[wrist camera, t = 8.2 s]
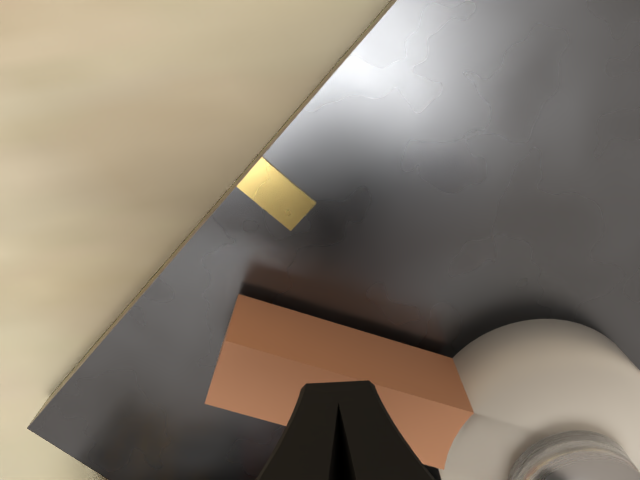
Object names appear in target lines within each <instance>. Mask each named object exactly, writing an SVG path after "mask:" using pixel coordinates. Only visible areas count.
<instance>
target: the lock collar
mask: <svg viewBox="0 0 640 480" xmlns="http://www.w3.org/2000/svg"><path fill="white" fill-rule="evenodd" d="M364 380H369V381H370V382H371V383H373V384H374V385H375V388H376V390H377V393H378V395H379V397H380V399H381V401H382V403H383V405H384V407H385V408H386V410H387V412H388V414H389V415H390V417H391V419H392V420H393V422H394V424H395V425H396V427H397V428H398V430H399V431H400V433H401V434H402V436H403V437H404V439H405V440H406V442H407V443H408V444H409V446H410V447H411V449H412V450H413V452H414V453H415V454H416V456H417V457H418V458H419V460H420V461H421V462H422V464H425V465H428V466H432V467H436V468H438V469H439V473H440V477H441V480H508V477H509V474H510V471H511V469H512V467H513V465H514V463H515V462H516V460H517V459H518V458H519V456H520V455H521V454H522V453H523V452H524V451H525V450H526V449H528V448H529V447H530V446H532V445H533V444H534V443H536V442H538V441H539V440H541V439H543V438H546V437H548V436H550V435H553V434H557V433H561V432H565V431H574V430H584V431H592V432H596V433H600V434H603V435H605V436H607V437H609V438H611V439H613V440H614V441H616V442H617V443H618V444H619V445H620V446H621V447H622V448H623V449H624V451H625V452H626V453H627V455H628V456H629V458H630V459H631V460H632V462H633V463H634V465H635V466H636V467H637V469H638V470H639V472H640V370H639V369H638V368H637V367H636V366H635V365H634V364H633V363H632V362H631V361H630V359H629V358H628V357H627V356H626V355H625V354H624V353H623V352H622V351H621V350H620V349H619V348H618V346H617V345H616V344H615V343H614V342H612V341H611V340H610V339H609V338H607V337H606V336H605V335H603V334H601V333H600V332H598V331H596V330H594V329H592V328H590V327H587V326H585V325H582V324H579V323H575V322H571V321H566V320H558V319H533V320H525V321H520V322H515V323H511V324H508V325H505V326H502V327H499V328H496V329H494V330H492V331H490V332H488V333H486V334H483V335H482V336H480V337H478V338H477V339H475V340H474V341H472V342H470V343H469V344H468V345H466V346H465V347H464V348H463V349H462V350H460V351H459V352H458V353H457V354H456V355H455V356H454V357H453V358H450V357H447V356H443V355H440V354H437V353H433V352H430V351H427V350H423V349H420V348H417V347H413V346H410V345H407V344H403V343H400V342H397V341H393V340H390V339H387V338H384V337H380V336H377V335H374V334H370V333H367V332H364V331H360V330H357V329H354V328H350V327H347V326H344V325H340V324H337V323H334V322H330V321H327V320H324V319H320V318H317V317H314V316H310V315H307V314H304V313H300V312H297V311H294V310H290V309H287V308H284V307H280V306H277V305H274V304H270V303H267V302H264V301H261V300H257V299H254V298H251V297H247V296H244V295H241V294H238V297H237V300H236V303H235V306H234V310H233V313H232V316H231V319H230V322H229V325H228V328H227V331H226V334H225V337H224V341H223V344H222V347H221V350H220V353H219V357H218V360H217V363H216V367H215V370H214V374H213V377H212V380H211V384H210V387H209V390H208V394H207V397H206V401H205V404H208V405H211V406H215V407H218V408H222V409H226V410H229V411H233V412H237V413H240V414H244V415H247V416H251V417H255V418H258V419H262V420H266V421H269V422H273V423H276V424H280V425H284V426H287V423H288V421H289V419H290V417H291V415H292V412H293V410H294V408H295V405H296V403H297V400H298V397H299V394H300V390H301V388H302V387H303V386H304V385H305V384H306V383H325V382H345V381H364Z"/></svg>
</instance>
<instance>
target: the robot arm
mask: <svg viewBox="0 0 640 480" xmlns="http://www.w3.org/2000/svg"><path fill="white" fill-rule="evenodd" d="M256 480H435V479H434V478H433V476H432V475H431V474H430V473H429V471H428V470H427V469H426V468H425V466H424V465H423V464H422V462H421V461H420V460H419V458H418V457H417V456H416V454H415V453H414V452H413V450H412V449H411V447H410V446H409V444H408V443H407V442H406V440H405V439H404V437H403V436H402V434H401V433H400V431H399V430H398V428H397V427H396V425H395V424H394V422H393V420H392V419H391V417H390V415H389V414H388V412H387V410H386V408H385V407H384V405H383V403H382V401H381V399H380V397H379V395H378V393H377V390H376V388H375V385H374V384H373V383H371V382H370V381H369V380H364V381H345V382H325V383H306V384H305V385H304V386H303V387H302V388H301V390H300V394H299V397H298V400H297V403H296V405H295V408H294V410H293V412H292V415H291V417H290V419H289V421H288V423H287V426H286V428H285V430H284V432H283V433H282V435H281V437H280V439H279V441H278V443H277V445H276V447H275V449H274V450H273V452H272V454H271V456H270V458H269V459H268V461H267V463H266V464H265V466H264V467H263V469H262V471H261V472H260V474H259V475H258V477H257V479H256Z"/></svg>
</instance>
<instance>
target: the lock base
mask: <svg viewBox="0 0 640 480" xmlns="http://www.w3.org/2000/svg"><path fill="white" fill-rule="evenodd" d="M238 294H241V295H244V296H247V297H251V298H254V299H257V300H261V301H264V302H267V303H270V304H274V305H277V306H280V307H284V308H287V309H290V310H294V311H297V312H300V313H304V314H307V315H310V316H314V317H317V318H320V319H324V320H327V321H330V322H334V323H337V324H340V325H344V326H347V327H350V328H354V329H357V330H360V331H364V332H367V333H370V334H374V335H377V336H380V337H384V338H387V339H390V340H393V341H397V342H400V343H403V344H407V345H410V346H413V347H417V348H420V349H423V350H427V351H430V352H433V353H437V354H440V355H443V356H447V357H450V358H453V357H454V356H455V355H456V354H457V353H458V352H459V351H460V350H462V349H463V348H464V347H465V346H466V345H468V344H469V343H470V342H472V341H474V340H475V339H477V338H478V337H480V336H482V335H483V334H486V333H488V332H490V331H492V330H494V329H496V328H499V327H502V326H505V325H508V324H511V323H515V322H520V321H525V320H533V319H558V320H566V321H571V322H575V323H579V324H582V325H585V326H587V327H590V328H592V329H594V330H596V331H598V332H600V333H601V334H603V335H605V336H606V337H607V338H609V339H610V340H611V341H612V342H614V343H615V344H616V345H617V346H618V348H619V349H620V350H621V351H622V352H623V353H624V354H625V355H626V356H627V357H628V358H629V359H630V361H631V362H632V363H633V364H634V365H635V366H636V367H637V368H638V369H639V370H640V0H391V1H390V2H389V3H388V5H387V6H386V7H385V8H384V9H383V10H382V12H381V13H380V14H379V15H378V16H377V17H376V19H375V20H374V21H373V22H372V23H371V24H370V26H369V27H368V28H367V29H366V30H365V31H364V32H363V34H362V35H361V36H360V37H359V38H358V39H357V41H356V42H355V43H354V44H353V45H352V46H351V48H350V49H349V50H348V51H347V52H346V53H345V55H344V56H343V57H342V58H341V59H340V60H339V61H338V63H337V64H336V65H335V66H334V67H333V68H332V70H331V71H330V72H329V73H328V74H327V75H326V77H325V78H324V79H323V80H322V81H321V82H320V84H319V85H318V86H317V87H316V88H315V89H314V90H313V92H312V93H311V94H310V95H309V96H308V97H307V99H306V100H305V101H304V102H303V103H302V104H301V106H300V107H299V108H298V109H297V110H296V111H295V113H294V114H293V115H292V116H291V117H290V118H289V120H288V121H287V122H286V123H285V124H284V125H283V126H282V128H281V129H280V130H279V131H278V132H277V133H276V135H275V136H274V137H273V138H272V139H271V140H270V142H269V143H268V144H267V145H266V146H265V147H264V149H263V150H262V151H261V152H260V153H259V154H258V155H257V157H256V158H255V159H254V160H253V161H252V162H251V164H250V165H249V166H248V167H247V168H246V169H245V171H244V172H243V173H242V174H241V175H240V176H239V178H238V179H237V180H236V181H235V182H234V183H233V184H232V186H231V187H230V188H229V189H228V190H227V191H226V193H225V194H224V195H223V196H222V197H221V198H220V200H219V201H218V202H217V203H216V204H215V205H214V207H213V208H212V209H211V210H210V211H209V212H208V213H207V215H206V216H205V217H204V218H203V219H202V220H201V222H200V223H199V224H198V225H197V226H196V227H195V229H194V230H193V231H192V232H191V233H190V234H189V236H188V237H187V238H186V239H185V240H184V241H183V242H182V244H181V245H180V246H179V247H178V248H177V249H176V251H175V252H174V253H173V254H172V255H171V256H170V258H169V259H168V260H167V261H166V262H165V263H164V265H163V266H162V267H161V268H160V269H159V270H158V272H157V273H156V274H155V275H154V276H153V277H152V278H151V280H150V281H149V282H148V283H147V284H146V285H145V287H144V288H143V289H142V290H141V291H140V292H139V294H138V295H137V296H136V297H135V298H134V299H133V301H132V302H131V303H130V304H129V305H128V306H127V307H126V309H125V310H124V311H123V312H122V313H121V314H120V316H119V317H118V318H117V319H116V320H115V321H114V323H113V324H112V325H111V326H110V327H109V328H108V330H107V331H106V332H105V333H104V334H103V335H102V336H101V338H100V339H99V340H98V341H97V342H96V343H95V345H94V346H93V347H92V348H91V349H90V350H89V352H88V353H87V354H86V355H85V356H84V357H83V359H82V360H81V361H80V362H79V363H78V364H77V365H76V367H75V368H74V369H73V370H72V371H71V372H70V374H69V375H68V376H67V377H66V378H65V379H64V381H63V382H62V383H61V384H60V385H59V386H58V388H57V389H56V390H55V391H54V392H53V393H52V394H51V396H50V397H49V398H48V399H47V401H46V402H45V404H44V405H43V406H42V408H41V409H40V411H39V412H38V413H37V415H36V416H35V418H34V419H33V420H32V422H31V423H30V425H29V426H28V427H27V429H29V430H31V431H32V432H34V433H35V434H37V435H39V436H40V437H42V438H43V439H45V440H47V441H48V442H50V443H51V444H53V445H54V446H56V447H58V448H59V449H61V450H62V451H64V452H66V453H67V454H69V455H70V456H72V457H74V458H75V459H77V460H78V461H80V462H82V463H83V464H85V465H86V466H88V467H89V468H91V469H93V470H94V471H96V472H97V473H99V474H101V475H102V476H104V477H105V478H107V479H109V480H256V479H257V477H258V475H259V474H260V472H261V471H262V469H263V467H264V466H265V464H266V463H267V461H268V459H269V458H270V456H271V454H272V452H273V450H274V449H275V447H276V445H277V443H278V441H279V439H280V437H281V435H282V433H283V432H284V430H285V428H286V426H284V425H280V424H276V423H273V422H269V421H266V420H262V419H258V418H255V417H251V416H247V415H244V414H240V413H237V412H233V411H229V410H226V409H222V408H218V407H215V406H211V405H208V404H205V401H206V397H207V394H208V390H209V387H210V384H211V380H212V377H213V374H214V370H215V367H216V363H217V360H218V357H219V353H220V350H221V347H222V344H223V341H224V337H225V334H226V331H227V328H228V325H229V322H230V319H231V316H232V313H233V310H234V306H235V303H236V300H237V297H238ZM423 465H424V466H425V468H426V469H427V470H428V471H429V473H430V474H431V475H432V476H433V478H434V479H435V480H441V477H440V473H439V469H438V468H436V467H432V466H428V465H425V464H423ZM508 480H640V472H639V470H638V469H637V467H636V466H635V465H634V463H633V462H632V460H631V459H630V458H629V456H628V455H627V453H626V452H625V451H624V449H623V448H622V447H621V446H620V445H619V444H618V443H617V442H616V441H614V440H613V439H611V438H609V437H607V436H605V435H603V434H600V433H596V432H592V431H584V430H574V431H565V432H561V433H557V434H553V435H550V436H548V437H546V438H543V439H541V440H539V441H538V442H536V443H534V444H533V445H532V446H530V447H529V448H528V449H526V450H525V451H524V452H523V453H522V454H521V455H520V456H519V458H518V459H517V460H516V462H515V463H514V465H513V467H512V469H511V471H510V474H509V477H508Z"/></svg>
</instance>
